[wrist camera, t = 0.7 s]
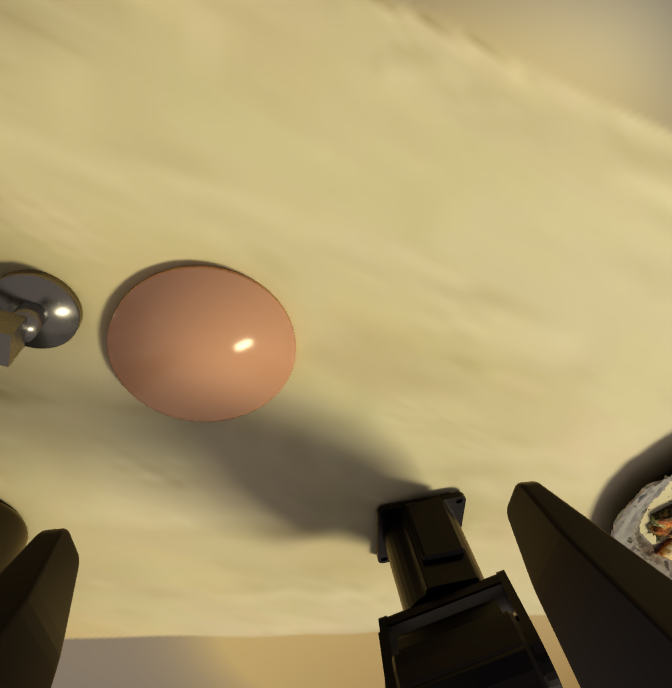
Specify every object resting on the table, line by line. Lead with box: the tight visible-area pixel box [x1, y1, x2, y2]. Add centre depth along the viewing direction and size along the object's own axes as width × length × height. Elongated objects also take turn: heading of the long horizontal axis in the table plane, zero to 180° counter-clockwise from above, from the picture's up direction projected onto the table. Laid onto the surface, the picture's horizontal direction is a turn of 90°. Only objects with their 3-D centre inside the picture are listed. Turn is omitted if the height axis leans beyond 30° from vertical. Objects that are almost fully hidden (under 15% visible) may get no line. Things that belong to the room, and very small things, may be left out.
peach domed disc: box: [107, 266, 296, 421], centre depth 22 cm, size 9×9×1 cm
